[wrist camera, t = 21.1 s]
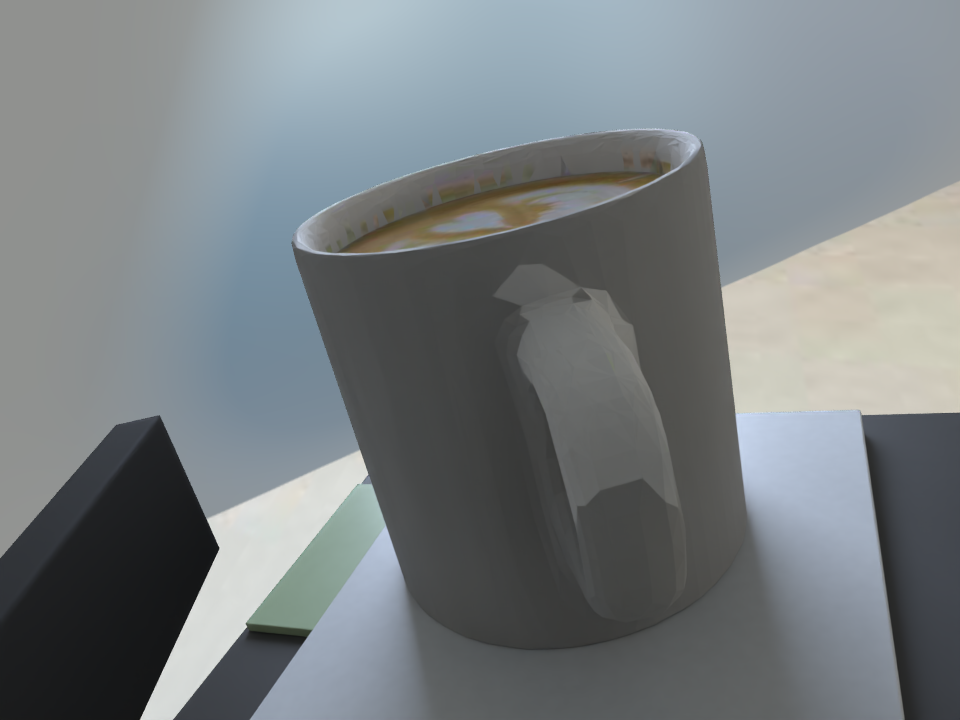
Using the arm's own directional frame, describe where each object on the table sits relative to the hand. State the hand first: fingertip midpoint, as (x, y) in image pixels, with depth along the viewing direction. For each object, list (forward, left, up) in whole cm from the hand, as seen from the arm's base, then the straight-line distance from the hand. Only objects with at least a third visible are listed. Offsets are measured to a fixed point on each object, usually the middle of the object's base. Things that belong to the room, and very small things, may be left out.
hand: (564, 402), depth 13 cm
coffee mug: (-3, +5, -8) cm, 10 cm away
